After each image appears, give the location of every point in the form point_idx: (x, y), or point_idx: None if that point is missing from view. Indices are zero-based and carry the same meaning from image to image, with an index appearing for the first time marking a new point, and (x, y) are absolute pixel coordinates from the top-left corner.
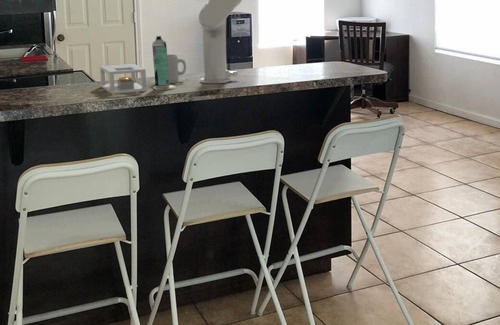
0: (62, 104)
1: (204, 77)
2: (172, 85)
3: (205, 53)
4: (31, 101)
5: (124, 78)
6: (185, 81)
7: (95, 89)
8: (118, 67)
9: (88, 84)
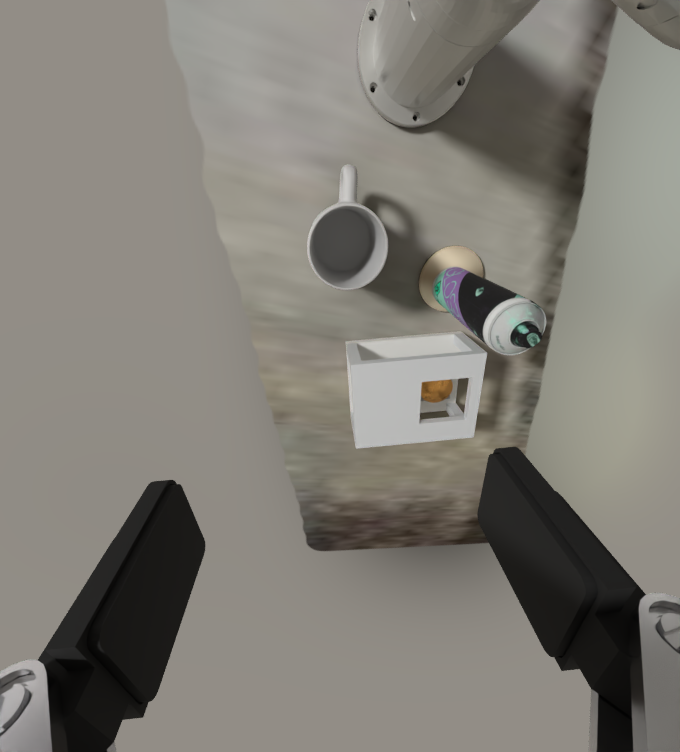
0: None
1: (416, 105)
2: (441, 252)
3: (471, 62)
4: (445, 518)
5: (441, 390)
6: (357, 180)
7: None
8: (407, 411)
9: (299, 436)
